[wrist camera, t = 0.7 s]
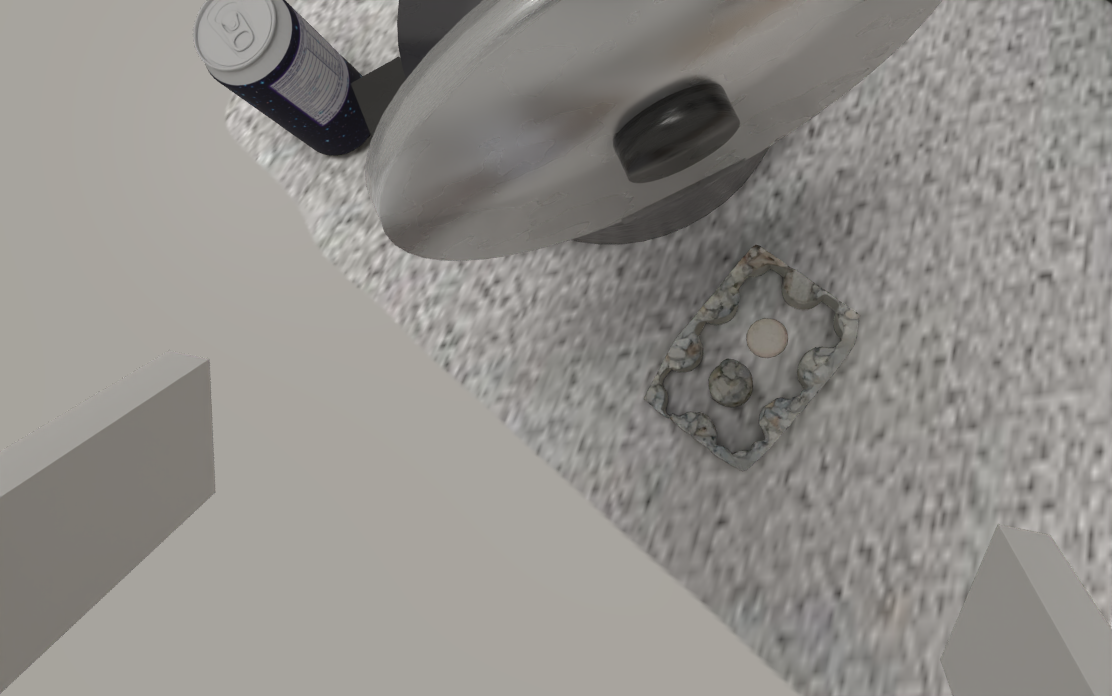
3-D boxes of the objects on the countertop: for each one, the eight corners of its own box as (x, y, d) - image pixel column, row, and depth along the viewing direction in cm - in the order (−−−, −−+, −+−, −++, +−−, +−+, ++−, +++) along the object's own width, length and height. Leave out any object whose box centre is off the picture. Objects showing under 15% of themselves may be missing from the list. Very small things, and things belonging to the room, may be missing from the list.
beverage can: (359, 62, 54) (250, -47, 42) (400, 125, 52) (299, 30, 41) (293, 114, 54) (169, 20, 43) (332, 177, 53) (214, 98, 41)
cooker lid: (1087, -358, 15) (1150, -256, 15) (881, 68, 35) (906, 116, 35) (220, 131, 18) (256, 223, 18) (481, 267, 38) (500, 312, 38)
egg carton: (757, 251, 46) (758, 231, 42) (867, 332, 44) (879, 319, 40) (638, 394, 46) (628, 387, 42) (742, 481, 44) (741, 482, 40)
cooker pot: (745, -149, 49) (743, -298, 39) (900, 123, 45) (940, 30, 35) (382, 54, 53) (300, -36, 44) (490, 320, 49) (426, 286, 39)
